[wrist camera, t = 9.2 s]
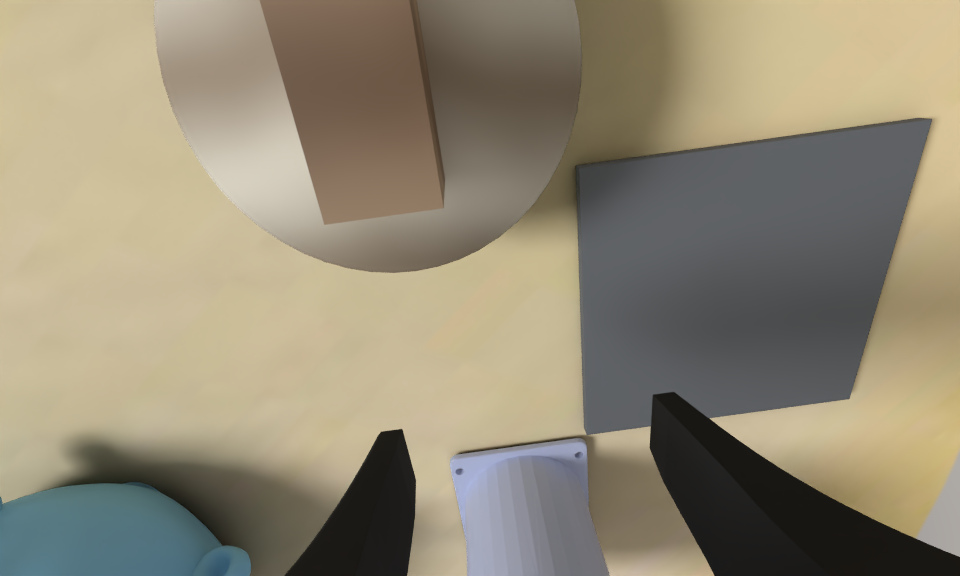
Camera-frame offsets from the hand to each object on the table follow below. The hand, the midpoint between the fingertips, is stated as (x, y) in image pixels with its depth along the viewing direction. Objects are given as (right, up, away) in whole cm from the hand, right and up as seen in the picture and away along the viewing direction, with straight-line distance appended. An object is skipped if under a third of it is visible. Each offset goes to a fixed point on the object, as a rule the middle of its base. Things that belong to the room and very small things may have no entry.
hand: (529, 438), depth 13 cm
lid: (-4, +11, +1) cm, 12 cm away
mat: (+11, +4, +10) cm, 15 cm away
